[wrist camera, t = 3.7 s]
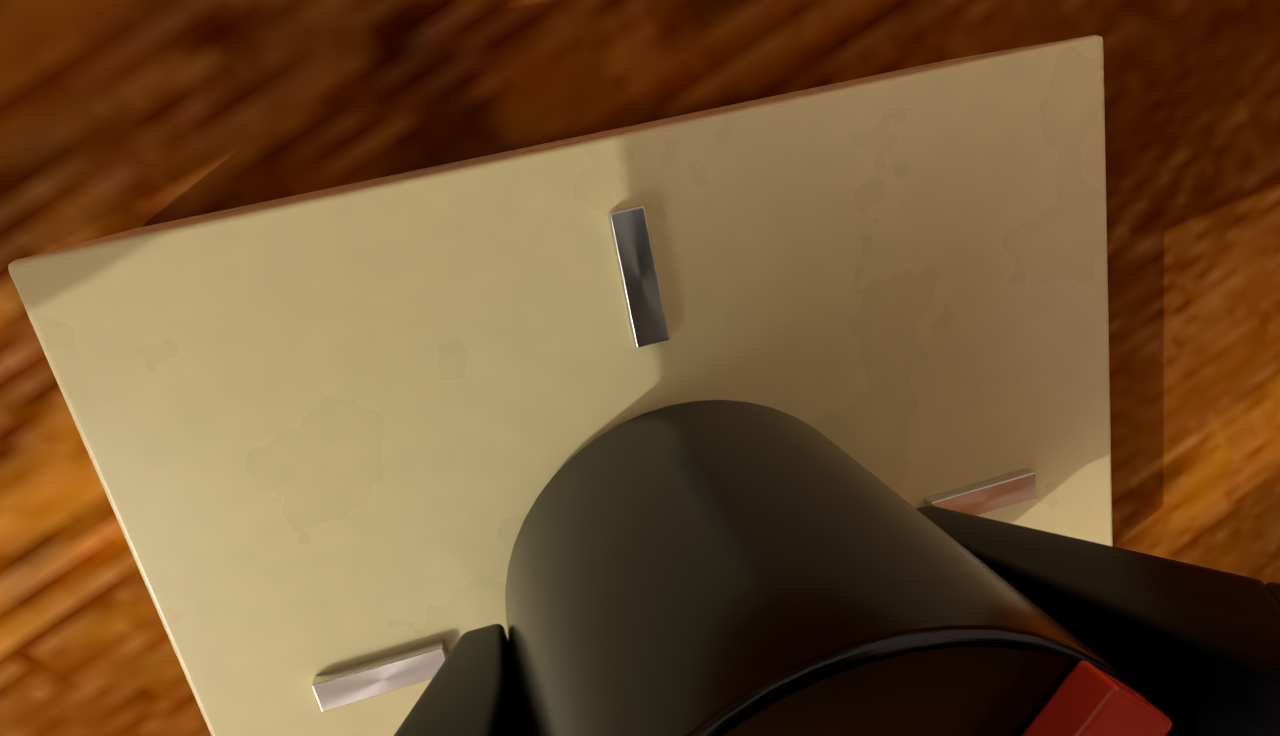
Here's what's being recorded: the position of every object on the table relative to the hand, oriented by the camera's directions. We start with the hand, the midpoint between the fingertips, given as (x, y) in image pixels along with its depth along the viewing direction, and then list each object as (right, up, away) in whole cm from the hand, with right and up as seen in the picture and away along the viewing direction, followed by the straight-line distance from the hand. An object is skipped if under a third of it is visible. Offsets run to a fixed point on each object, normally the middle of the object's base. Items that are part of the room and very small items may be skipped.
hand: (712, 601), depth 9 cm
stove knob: (0, 0, 0) cm, 0 cm away
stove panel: (-1, +1, +3) cm, 4 cm away
